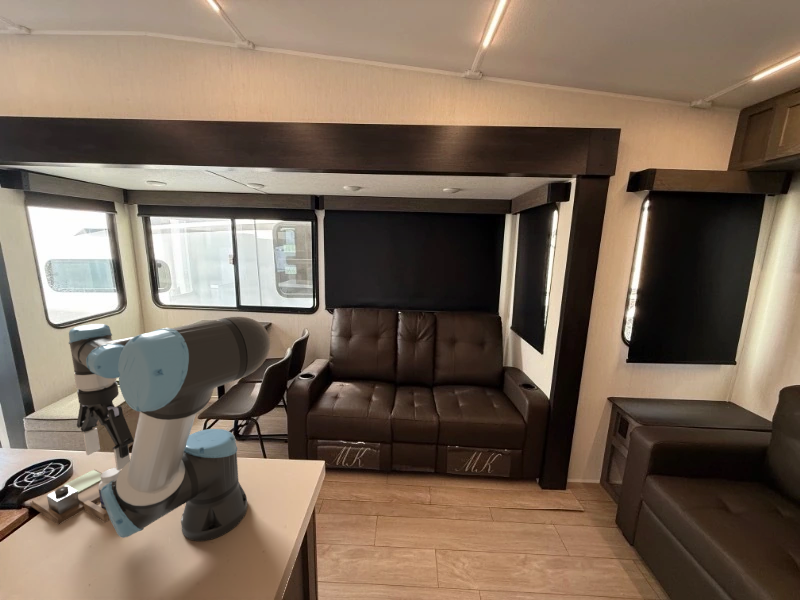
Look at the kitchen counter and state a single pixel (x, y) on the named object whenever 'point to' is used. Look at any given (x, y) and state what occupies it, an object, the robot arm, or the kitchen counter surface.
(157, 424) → the robot arm
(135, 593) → the kitchen counter surface
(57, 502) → the latch bolt
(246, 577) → the kitchen counter surface
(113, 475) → the pill bottle
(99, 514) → the station
